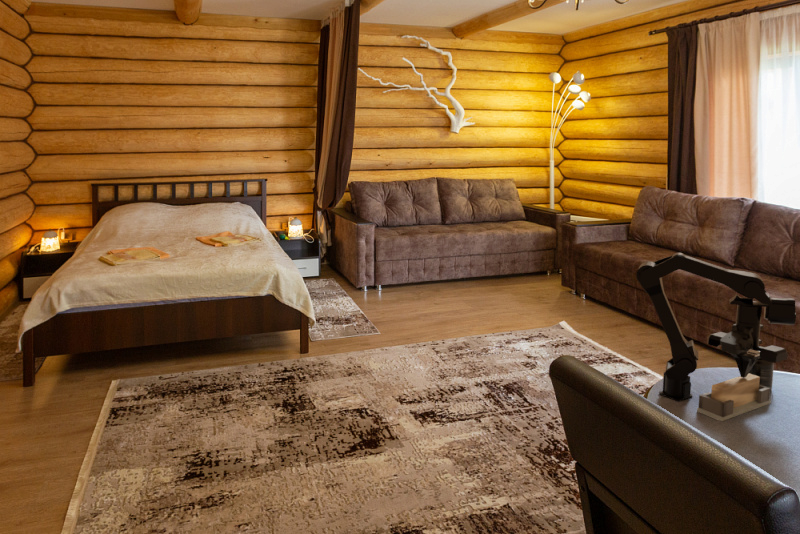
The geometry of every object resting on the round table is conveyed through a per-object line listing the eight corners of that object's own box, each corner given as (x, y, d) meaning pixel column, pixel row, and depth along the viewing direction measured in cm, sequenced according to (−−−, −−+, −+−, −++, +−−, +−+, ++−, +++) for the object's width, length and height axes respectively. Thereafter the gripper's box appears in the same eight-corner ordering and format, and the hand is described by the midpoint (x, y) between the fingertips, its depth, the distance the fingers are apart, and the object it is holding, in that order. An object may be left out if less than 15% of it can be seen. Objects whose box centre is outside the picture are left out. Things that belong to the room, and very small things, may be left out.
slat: (710, 408, 164) (711, 385, 163) (747, 395, 172) (749, 373, 170) (720, 412, 162) (722, 388, 160) (757, 399, 169) (759, 376, 168)
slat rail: (697, 411, 165) (698, 395, 164) (745, 394, 175) (746, 379, 174) (721, 421, 159) (722, 404, 158) (770, 403, 169) (771, 387, 168)
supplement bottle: (772, 386, 180) (775, 346, 178) (771, 394, 175) (774, 353, 172) (745, 382, 184) (748, 343, 182) (743, 390, 178) (746, 350, 176)
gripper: (696, 318, 168) (693, 372, 171) (765, 335, 152) (760, 395, 155) (722, 311, 174) (718, 364, 177) (791, 327, 158) (785, 385, 161)
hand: (743, 377), depth 167 cm, fingers closed
